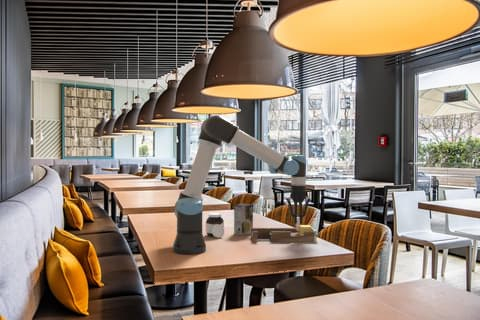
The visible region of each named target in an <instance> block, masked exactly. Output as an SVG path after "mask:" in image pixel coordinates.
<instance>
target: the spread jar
mask: <svg viewBox="0 0 480 320" xmlns="http://www.w3.org/2000/svg"><path fill="white" fill-rule="evenodd" d="M205 233H206V235H208V237H214V238H218V239H221V238H222V237H223V236H224V235H225V221H224V218H223V217H222V213H220V212H209V213H208V218H206V220H205Z"/></svg>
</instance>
